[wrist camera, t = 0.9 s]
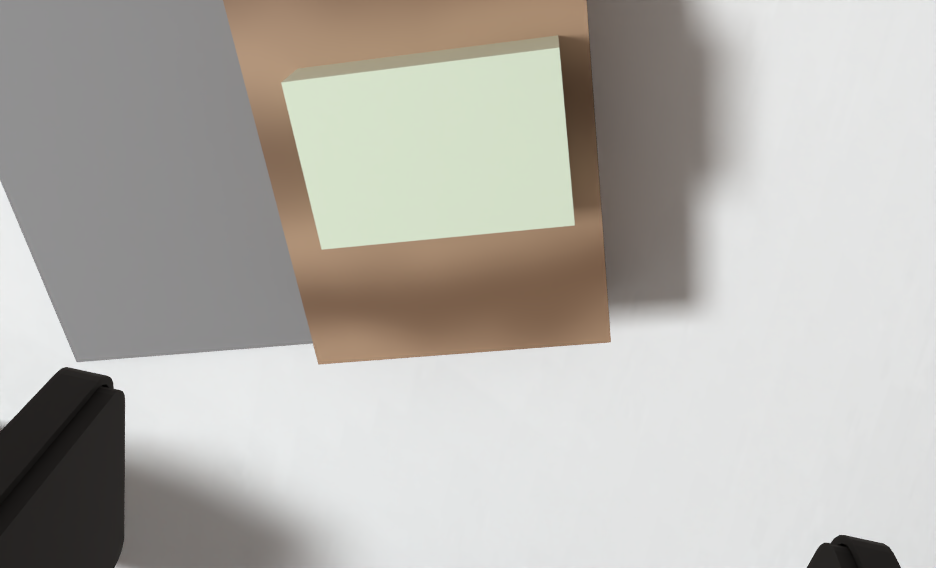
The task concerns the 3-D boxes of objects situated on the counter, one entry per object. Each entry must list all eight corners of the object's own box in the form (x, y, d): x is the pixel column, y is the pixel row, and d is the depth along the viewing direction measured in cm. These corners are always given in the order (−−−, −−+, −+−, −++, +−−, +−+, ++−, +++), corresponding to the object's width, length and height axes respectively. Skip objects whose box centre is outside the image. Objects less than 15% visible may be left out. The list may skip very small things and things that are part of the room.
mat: (340, 335, 38) (337, 341, 37) (82, 356, 40) (76, 362, 39) (222, -148, 29) (217, -148, 28) (-105, -93, 31) (-114, -92, 30)
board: (604, 294, 36) (610, 342, 32) (339, 316, 37) (318, 364, 34) (570, -171, 28) (573, -176, 24) (235, -117, 29) (193, -114, 26)
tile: (573, 203, 30) (575, 225, 28) (334, 227, 31) (321, 249, 29) (558, 35, 27) (559, 47, 25) (297, 68, 28) (280, 82, 26)
